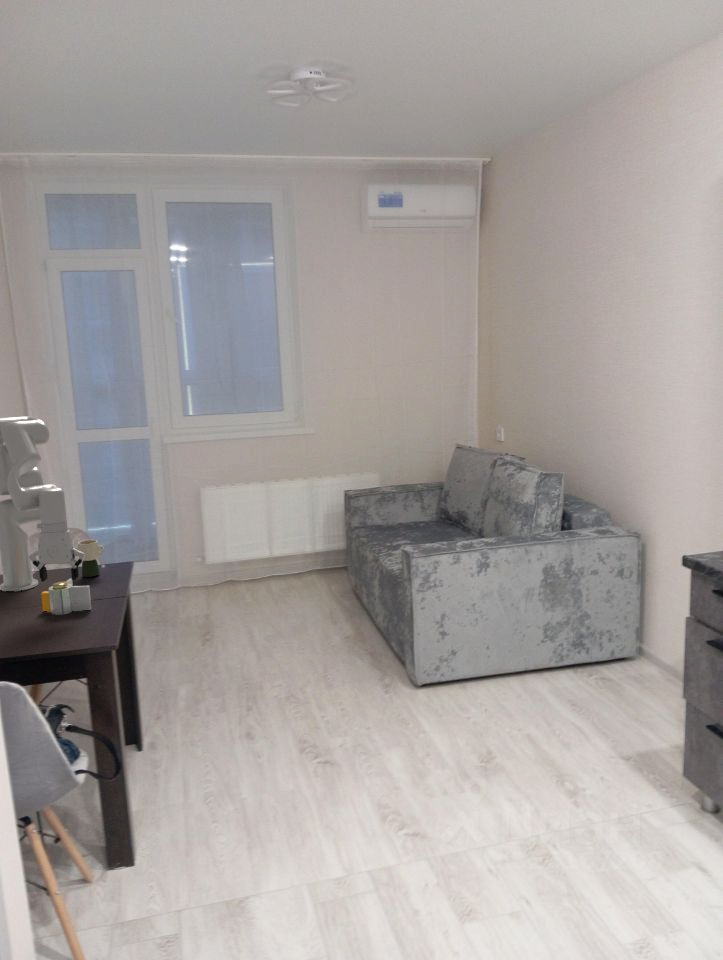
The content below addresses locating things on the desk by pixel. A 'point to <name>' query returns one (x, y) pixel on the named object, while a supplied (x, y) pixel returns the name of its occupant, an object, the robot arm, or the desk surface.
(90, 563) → the character mug
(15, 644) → the desk surface
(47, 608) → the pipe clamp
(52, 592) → the hinge
